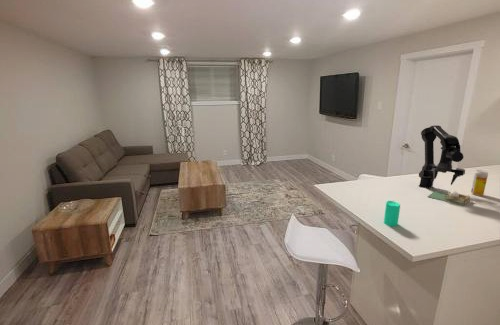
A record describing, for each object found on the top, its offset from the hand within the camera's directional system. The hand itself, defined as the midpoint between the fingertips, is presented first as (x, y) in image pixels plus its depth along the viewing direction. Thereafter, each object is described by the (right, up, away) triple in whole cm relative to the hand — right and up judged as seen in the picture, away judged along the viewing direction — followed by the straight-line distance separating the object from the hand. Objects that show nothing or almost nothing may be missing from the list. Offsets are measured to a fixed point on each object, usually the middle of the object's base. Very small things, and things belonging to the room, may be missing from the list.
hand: (442, 183), depth 160 cm
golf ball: (+5, -7, -3) cm, 9 cm away
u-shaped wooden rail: (+6, -10, -4) cm, 12 cm away
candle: (-48, -17, -31) cm, 60 cm away
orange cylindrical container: (+25, -8, +5) cm, 27 cm away
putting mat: (+3, -9, -1) cm, 10 cm away
